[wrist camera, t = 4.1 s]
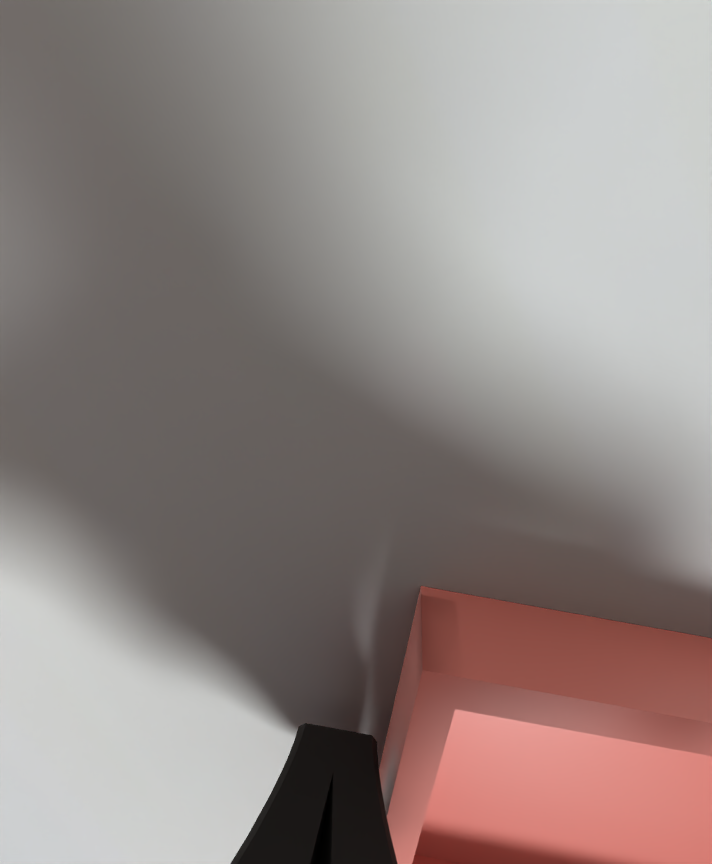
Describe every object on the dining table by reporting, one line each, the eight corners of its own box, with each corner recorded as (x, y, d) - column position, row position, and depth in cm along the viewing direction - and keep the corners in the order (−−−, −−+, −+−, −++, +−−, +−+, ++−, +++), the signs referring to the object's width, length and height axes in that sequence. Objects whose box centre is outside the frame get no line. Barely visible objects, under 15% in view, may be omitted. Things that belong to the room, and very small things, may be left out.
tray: (859, 930, 13) (948, 1077, 11) (361, 836, 14) (351, 960, 11) (1039, 684, 11) (1201, 812, 9) (420, 574, 11) (421, 669, 9)
